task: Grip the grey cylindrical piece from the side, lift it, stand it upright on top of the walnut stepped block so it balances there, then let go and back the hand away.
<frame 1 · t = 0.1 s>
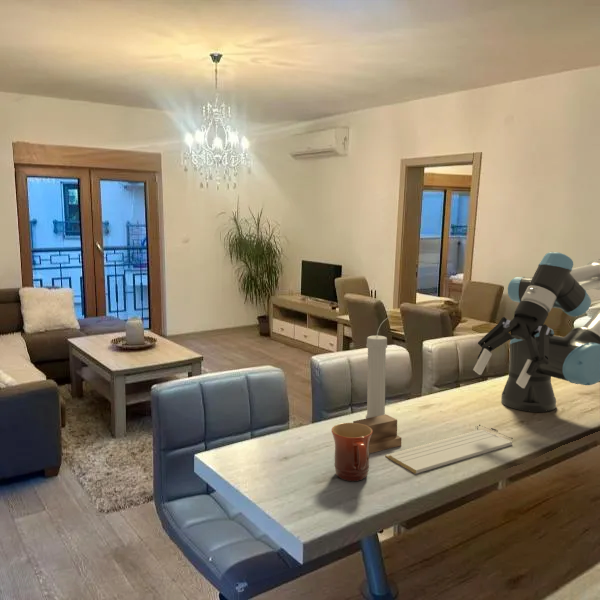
hand: (497, 378, 135), 15 cm above the table, tool tilted 35°, fingers open, 13 cm apart
walnut stepped block: (375, 443, 134), on the table
mug: (353, 479, 115), on the table
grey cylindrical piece: (377, 425, 146), on the table
baseboard molding: (448, 452, 130), on the table
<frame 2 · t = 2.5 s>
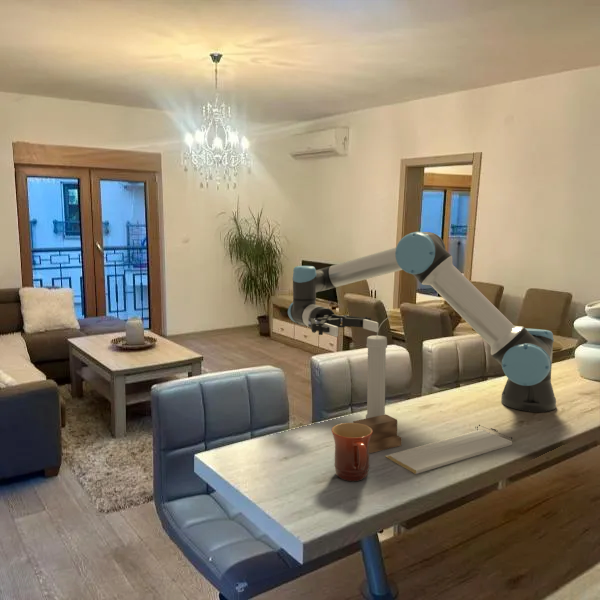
hand: (357, 329, 151), 25 cm above the table, tool horizontal, fingers open, 13 cm apart
nothing on the table moved.
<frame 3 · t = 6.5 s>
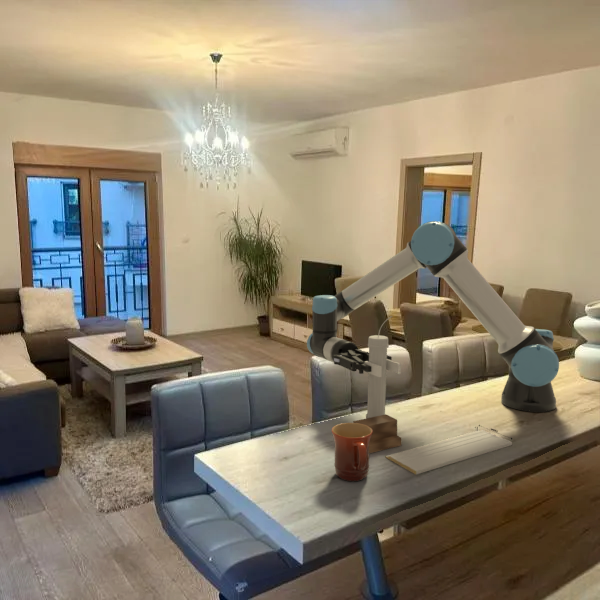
hand: (389, 370, 139), 17 cm above the table, tool horizontal, fingers closed on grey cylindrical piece, 5 cm apart
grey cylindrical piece: (377, 425, 146), on the table, touching gripper
everything else where it was.
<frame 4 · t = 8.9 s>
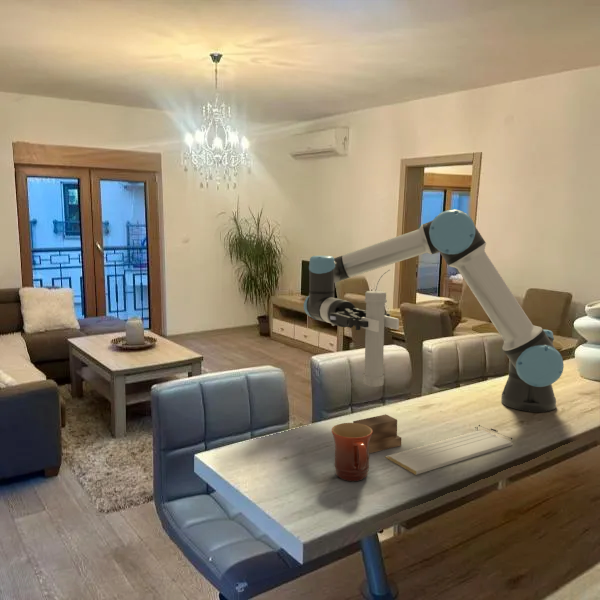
hand: (387, 325, 134), 29 cm above the table, tool horizontal, fingers closed on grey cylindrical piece, 5 cm apart
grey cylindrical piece: (374, 384, 141), point 12 cm above the table, touching gripper
everything else where it was.
when the fingers open (23 cm above the table, at t = 11.2 s): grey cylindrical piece moves 1 cm, resting on walnut stepped block.
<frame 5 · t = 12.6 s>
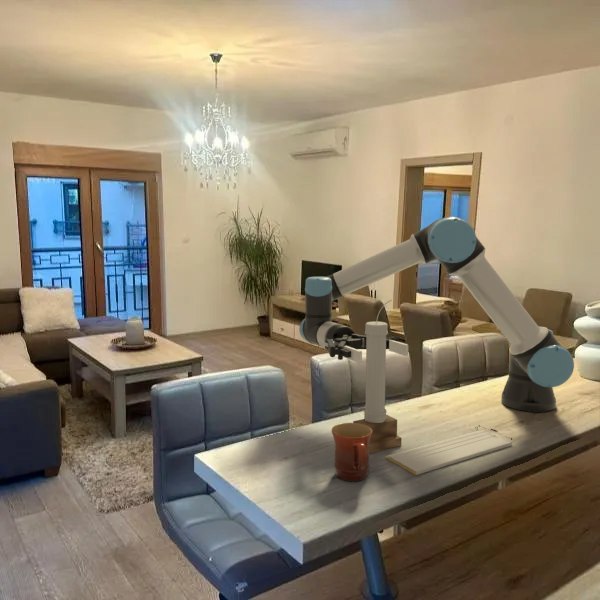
hand: (384, 353, 128), 24 cm above the table, tool horizontal, fingers open, 13 cm apart
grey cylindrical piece: (376, 420, 133), point 6 cm above the table, touching walnut stepped block
everything else where it was.
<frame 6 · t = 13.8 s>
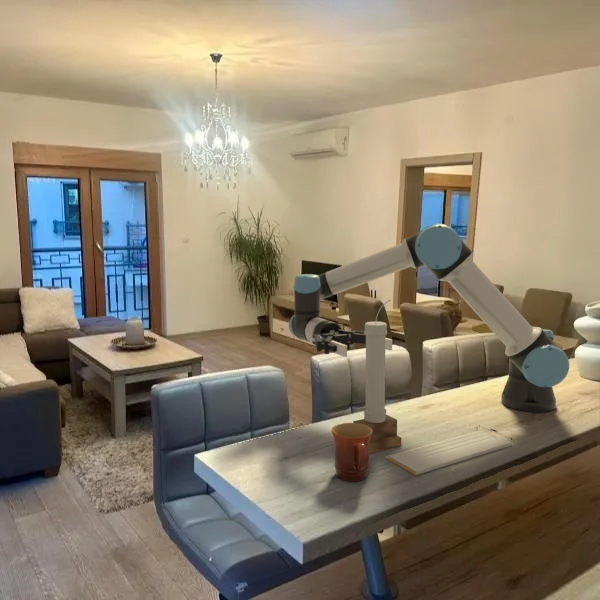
hand: (369, 348, 132), 24 cm above the table, tool horizontal, fingers open, 13 cm apart
nothing on the table moved.
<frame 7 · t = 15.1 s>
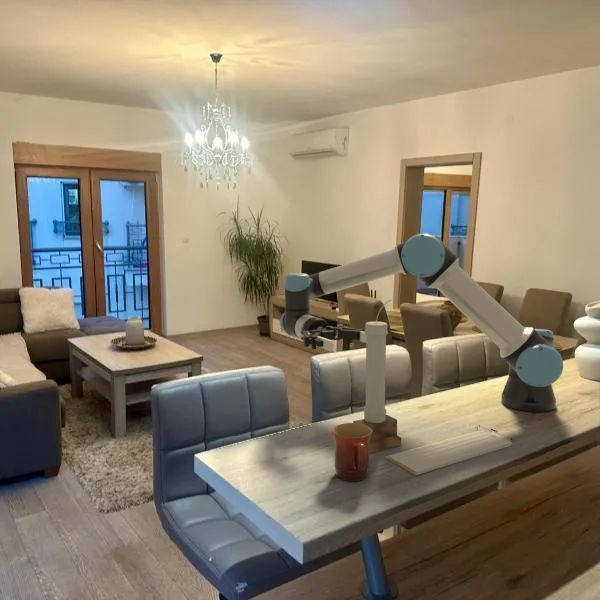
hand: (353, 343, 139), 24 cm above the table, tool horizontal, fingers open, 13 cm apart
nothing on the table moved.
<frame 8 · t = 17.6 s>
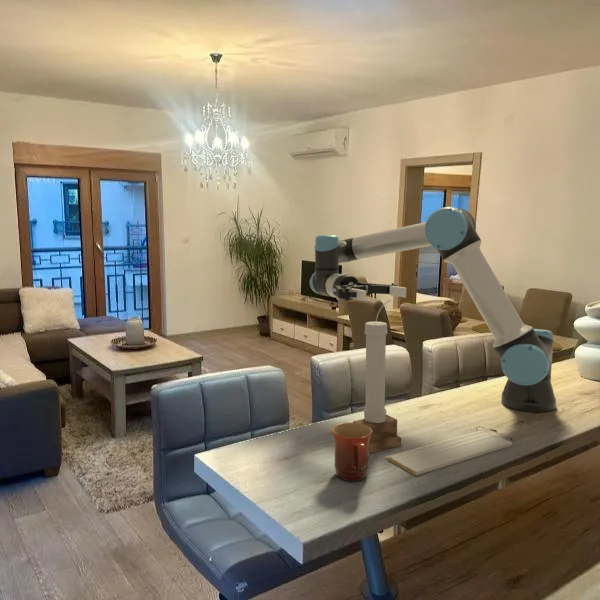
hand: (385, 294, 147), 35 cm above the table, tool horizontal, fingers open, 13 cm apart
nothing on the table moved.
at the end: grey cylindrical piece inside the target area on the walnut stepped block (0.4 cm from its centre), point 5.8 cm above the walnut stepped block's base; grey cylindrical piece tilted 0°; the gripper is holding nothing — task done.
